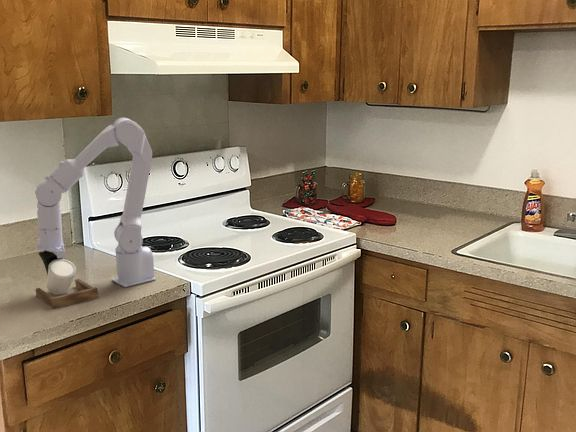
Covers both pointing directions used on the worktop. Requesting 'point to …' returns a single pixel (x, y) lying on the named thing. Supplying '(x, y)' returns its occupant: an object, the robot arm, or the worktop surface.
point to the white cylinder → (60, 276)
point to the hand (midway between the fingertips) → (53, 278)
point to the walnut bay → (69, 295)
